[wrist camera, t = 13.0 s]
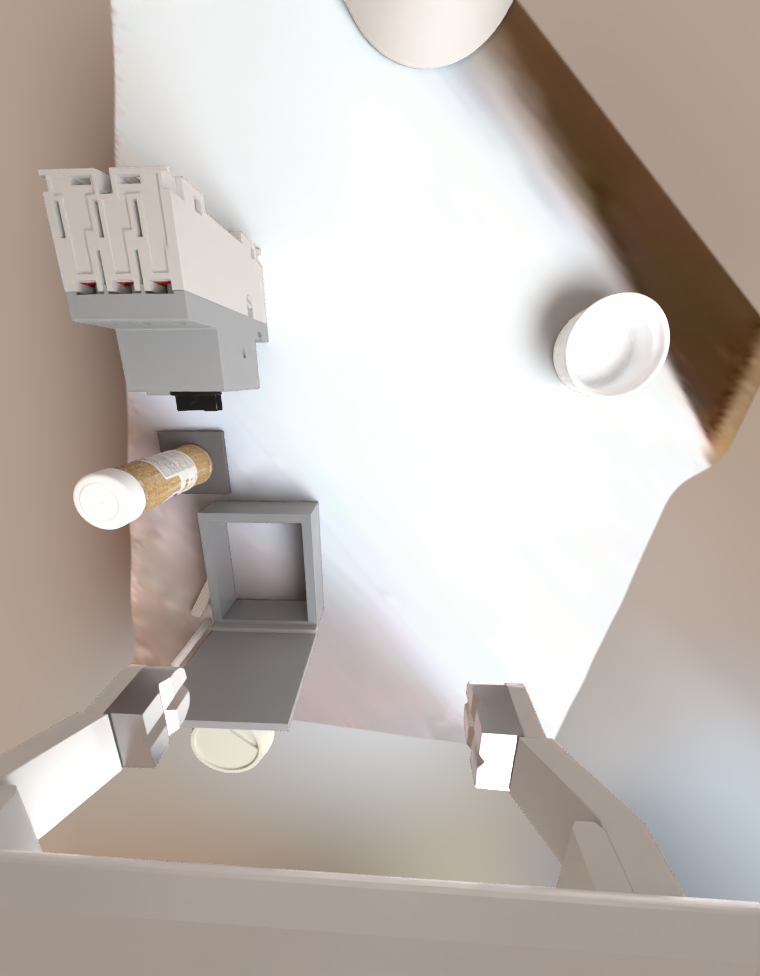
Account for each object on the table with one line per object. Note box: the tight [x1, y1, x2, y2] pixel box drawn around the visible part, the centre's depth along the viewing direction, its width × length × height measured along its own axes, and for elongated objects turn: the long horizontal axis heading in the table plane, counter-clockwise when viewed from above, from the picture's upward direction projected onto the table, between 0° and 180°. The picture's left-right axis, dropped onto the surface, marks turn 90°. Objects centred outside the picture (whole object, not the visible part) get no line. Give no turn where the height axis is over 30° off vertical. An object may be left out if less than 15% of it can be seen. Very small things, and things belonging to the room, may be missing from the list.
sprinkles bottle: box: [73, 444, 213, 529], centre depth 34 cm, size 5×5×13 cm
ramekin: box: [553, 292, 670, 400], centre depth 34 cm, size 9×9×4 cm
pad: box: [157, 431, 231, 494], centre depth 41 cm, size 7×7×1 cm
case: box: [169, 501, 324, 731], centre depth 36 cm, size 15×13×16 cm
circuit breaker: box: [37, 166, 268, 411], centre depth 30 cm, size 8×14×15 cm, turn 0°
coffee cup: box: [190, 728, 274, 773], centre depth 43 cm, size 8×8×12 cm
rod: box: [190, 580, 210, 618], centre depth 46 cm, size 7×1×1 cm, turn 150°
